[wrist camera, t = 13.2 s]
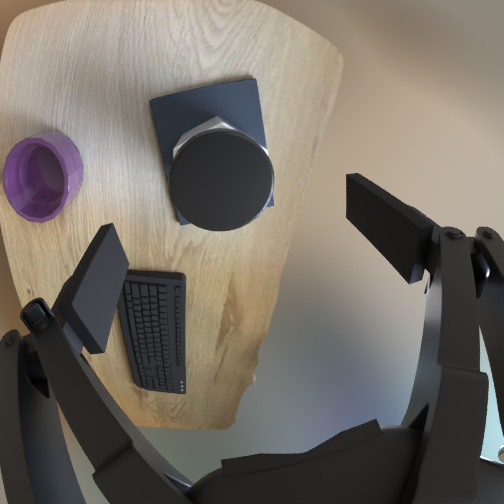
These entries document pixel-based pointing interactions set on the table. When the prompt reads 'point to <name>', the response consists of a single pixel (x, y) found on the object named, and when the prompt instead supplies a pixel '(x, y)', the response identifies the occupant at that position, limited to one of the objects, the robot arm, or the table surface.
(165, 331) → the keyboard
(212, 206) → the jar
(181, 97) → the placemat
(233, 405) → the table surface
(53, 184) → the bowl
